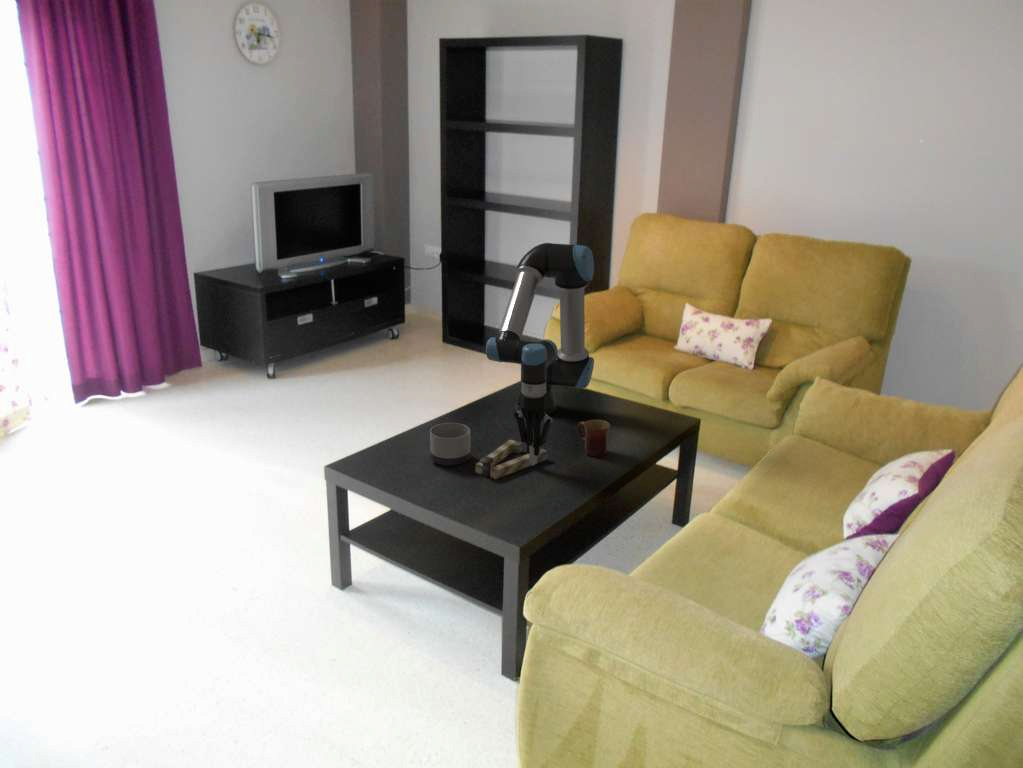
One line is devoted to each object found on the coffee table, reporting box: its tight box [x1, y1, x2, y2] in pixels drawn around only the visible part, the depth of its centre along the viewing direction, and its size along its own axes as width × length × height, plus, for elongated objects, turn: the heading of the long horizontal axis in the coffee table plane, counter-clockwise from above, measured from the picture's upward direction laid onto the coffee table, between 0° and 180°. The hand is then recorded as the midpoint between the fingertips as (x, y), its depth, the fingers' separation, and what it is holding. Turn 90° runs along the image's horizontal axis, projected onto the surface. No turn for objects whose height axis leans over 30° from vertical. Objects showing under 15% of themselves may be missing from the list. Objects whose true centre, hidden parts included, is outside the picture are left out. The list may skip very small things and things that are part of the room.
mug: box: [577, 419, 612, 458], centre depth 276 cm, size 12×9×10 cm
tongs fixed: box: [474, 439, 523, 478], centre depth 268 cm, size 24×6×6 cm, turn 151°
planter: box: [429, 422, 471, 467], centre depth 269 cm, size 13×13×10 cm
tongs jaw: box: [489, 448, 548, 480], centre depth 264 cm, size 22×2×3 cm, turn 132°
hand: (533, 463), depth 265 cm, fingers closed
